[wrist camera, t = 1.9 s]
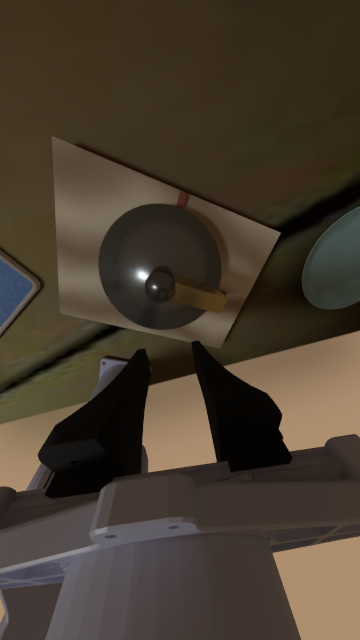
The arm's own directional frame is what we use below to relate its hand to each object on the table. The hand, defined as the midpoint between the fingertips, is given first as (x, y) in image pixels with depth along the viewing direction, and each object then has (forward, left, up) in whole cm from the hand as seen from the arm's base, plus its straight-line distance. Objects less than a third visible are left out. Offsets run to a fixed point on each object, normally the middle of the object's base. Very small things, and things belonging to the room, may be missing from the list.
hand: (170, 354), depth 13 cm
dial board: (+4, +2, -9) cm, 11 cm away
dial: (+4, +2, -8) cm, 9 cm away
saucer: (+12, -19, -10) cm, 25 cm away
